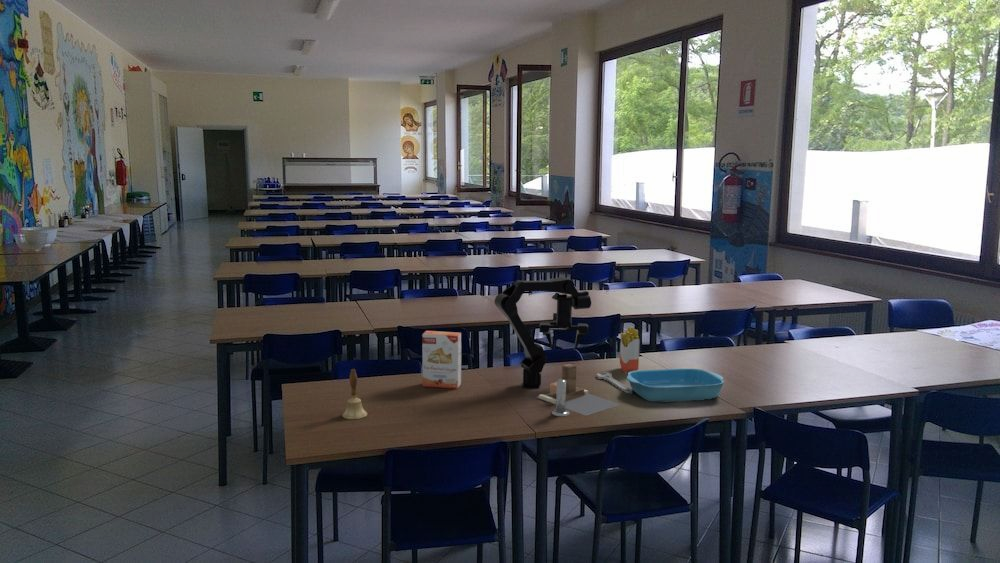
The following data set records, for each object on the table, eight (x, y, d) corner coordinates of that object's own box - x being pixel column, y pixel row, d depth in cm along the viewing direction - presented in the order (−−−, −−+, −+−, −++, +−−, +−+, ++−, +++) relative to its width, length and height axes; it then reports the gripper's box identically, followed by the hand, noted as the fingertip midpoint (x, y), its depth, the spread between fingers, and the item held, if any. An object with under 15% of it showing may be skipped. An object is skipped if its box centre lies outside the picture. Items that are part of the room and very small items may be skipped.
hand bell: (338, 418, 242) (337, 372, 239) (347, 410, 250) (346, 365, 247) (362, 420, 241) (361, 373, 238) (370, 411, 249) (369, 366, 246)
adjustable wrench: (633, 395, 270) (634, 390, 270) (617, 396, 269) (617, 391, 268) (608, 375, 294) (608, 371, 294) (593, 376, 293) (593, 372, 292)
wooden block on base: (552, 399, 261) (553, 367, 259) (576, 393, 269) (576, 361, 267) (560, 402, 258) (561, 369, 256) (583, 395, 266) (584, 364, 264)
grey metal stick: (551, 417, 245) (552, 382, 243) (552, 411, 251) (552, 377, 249) (569, 417, 244) (570, 383, 242) (569, 411, 250) (570, 378, 248)
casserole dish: (705, 383, 285) (706, 365, 284) (734, 401, 263) (736, 382, 262) (616, 388, 277) (617, 370, 276) (639, 407, 255) (640, 388, 254)
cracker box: (422, 387, 276) (421, 333, 273) (426, 382, 282) (425, 329, 278) (457, 389, 274) (457, 335, 270) (461, 384, 279) (461, 331, 276)
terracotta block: (550, 394, 267) (550, 383, 267) (559, 391, 271) (559, 381, 270) (559, 397, 264) (559, 387, 263) (569, 394, 267) (569, 384, 266)
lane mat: (535, 398, 264) (535, 394, 264) (570, 388, 276) (570, 384, 275) (585, 416, 245) (586, 412, 245) (620, 405, 257) (621, 401, 256)
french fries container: (627, 375, 294) (629, 331, 291) (618, 367, 304) (620, 325, 301) (638, 374, 294) (640, 331, 291) (628, 367, 305) (630, 325, 302)
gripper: (587, 306, 286) (586, 345, 289) (540, 305, 288) (539, 343, 290) (588, 312, 275) (587, 352, 278) (539, 311, 277) (539, 351, 279)
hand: (563, 349), depth 282 cm, fingers open, 9 cm apart
